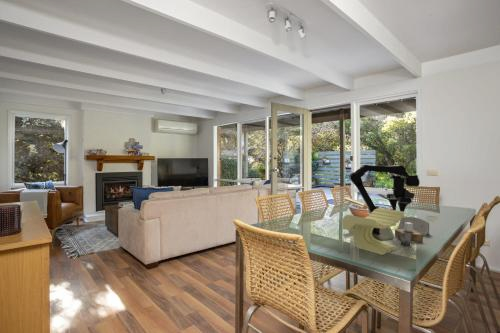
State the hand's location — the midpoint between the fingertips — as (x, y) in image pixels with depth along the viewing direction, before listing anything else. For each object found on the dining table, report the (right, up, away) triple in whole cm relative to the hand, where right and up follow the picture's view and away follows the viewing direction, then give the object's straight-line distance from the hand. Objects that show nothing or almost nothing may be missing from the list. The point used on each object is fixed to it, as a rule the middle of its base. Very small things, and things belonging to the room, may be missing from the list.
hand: (398, 212), depth 160 cm
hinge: (+12, -13, +5) cm, 19 cm away
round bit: (-7, -14, -20) cm, 25 cm away
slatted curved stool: (-26, -14, -24) cm, 38 cm away
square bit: (0, -13, -10) cm, 16 cm away
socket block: (0, -13, -10) cm, 16 cm away
